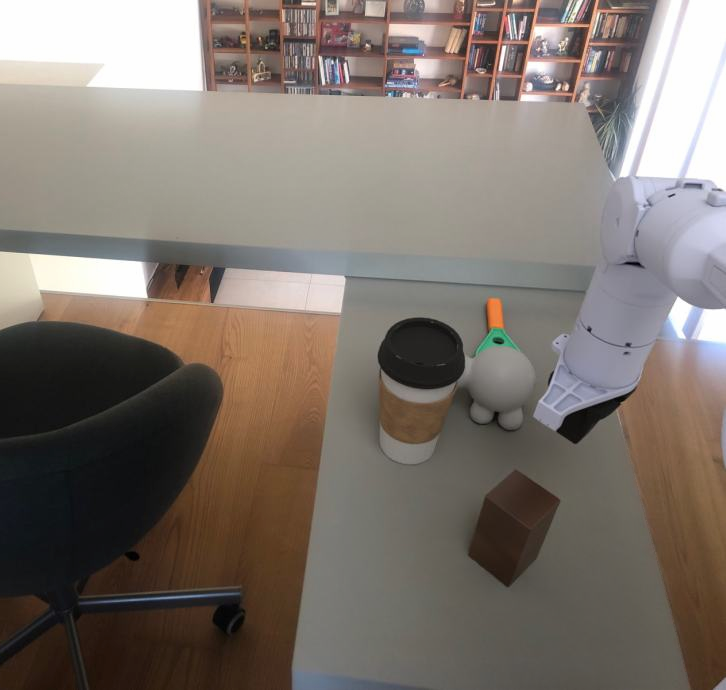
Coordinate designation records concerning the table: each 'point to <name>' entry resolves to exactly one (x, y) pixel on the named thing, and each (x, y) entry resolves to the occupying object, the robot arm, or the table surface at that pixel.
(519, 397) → the toy rhinoceros
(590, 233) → the table surface
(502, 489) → the brown wooden block
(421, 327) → the coffee cup
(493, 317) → the vegetable peeler
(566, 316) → the table surface
